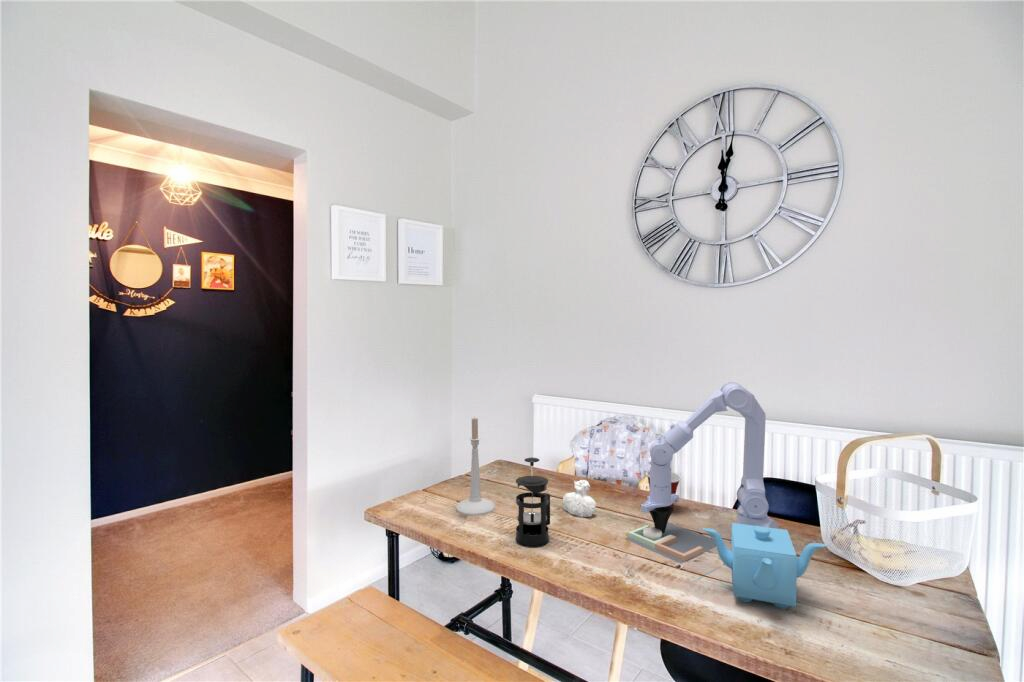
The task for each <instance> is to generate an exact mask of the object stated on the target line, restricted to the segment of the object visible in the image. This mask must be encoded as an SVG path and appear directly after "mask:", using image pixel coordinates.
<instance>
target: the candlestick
mask: <svg viewBox="0 0 1024 682" xmlns="http://www.w3.org/2000/svg"><path fill="white" fill-rule="evenodd" d="M478 421H479V419H478V417H472V418H471V437H470V438H469V440H470V445H471V447H472V449H471V464H470V465H471V467H470V470H471V472H470V492H469V493H470V494H469V498H466V499H463V500H461V501H459V502H458V503H457V504H456V506H455V511H456V512H457V513H459V514H461V515H465V516H472V517H473V516H484V515H488V514H490V513H492V512H494V511H495V509H496V504H495V503H494V502H493V501H492V500H490V499H488V498H485V497H484V498H483V497H482V493H481V476H480V462H479V461H480V460H479V448H478V446H479V444H480V440H481V438H480V437H479V429H478V428H479V422H478Z"/></svg>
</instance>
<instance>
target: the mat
mask: <svg viewBox="0 0 1024 682" xmlns="http://www.w3.org/2000/svg"><path fill="white" fill-rule="evenodd" d="M652 528H655V526H652ZM668 535H673V536H675V537H676V542H675V543H673V544H671V545H668V546H667V547H669V548H671V549H674V550H676V551H678V552H681V553H686V552H688V551H690V550H692V549H694V548H696V547H698V546H701V547H703V553H705V552H708V551H710V550H711V549H714V548H717V547H716V544H715V541H714V539H713V538H712V537H709V536H706V535H703V534H701V533H698V532H695V531H693V530H689V529H687V528H684V527H681V526H679V525H677V524H674V523H671V522H669V521H668V522H667V526H666V529H665V533H663V534H662V538H663V537H665V536H668ZM641 536H643V534H641ZM624 539H625V540H627V541H628V542H631V543H633V544H635V545H637V546H640V547H641V548H645V549H647V550H650V551H652V552H653V553H656V554H657V555H658V554H659V556H660V555H661V556H662V557H664V558H666V559H669V560H672V561H674V562H676V563H679V564H683V563H685V562H684V561H682V560H680V559H677V558H675V557H673V556H670V555H668V554H666V553H663V552H661V551H659V550H657V549H654V548H652V547H650V546H647V545H645V544H643V543H640V542H638V541H636V540H634V539H631V538H629V537H628V536H627V537H625V538H624ZM703 553H701V554H703ZM701 554H699V555H698V556H700V555H701Z"/></svg>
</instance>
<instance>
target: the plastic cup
mask: <svg viewBox="0 0 1024 682" xmlns="http://www.w3.org/2000/svg"><path fill="white" fill-rule="evenodd" d="M645 474H646V477H647V481H648V487H649V489H650V469H648V470H647V471H645ZM681 480H682V476H681V475H679V474H678V473H676V472H673V471H671V494H676V495H677V491H678V486H679V483H680V482H681ZM674 503H675V502H673V503H672V504H671V505H670V507H673V508H674Z"/></svg>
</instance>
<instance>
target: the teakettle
mask: <svg viewBox="0 0 1024 682" xmlns="http://www.w3.org/2000/svg"><path fill="white" fill-rule="evenodd" d="M701 530H703V531H704V532H706V533H707V534H709V536H711V538H712V539H714V541H715V544H716V547H715V548H716V550H717V553H718V557H719V558H720V560H721V561H722V563H723V564H724V565H725V566H726V567H727V568H729V569H731V580H732V591H733V597H737V600H739V601H740V602H745V603H750V602H752V601H760V602H766V603H772V604H773V606H775V607H776V608H779V609H783V610H786V609H789V608H790V607H794V608H797V579H799V578H801V577H802V576H803V575H804V574H805V573H806V572H807V570H808V567H809V565H810V561H811V558H812V556H813V555H814V553H815V552H816V551H817V550H821V548H822V549H823V548H825V547H828V545H827V544H825V543H820V542H811V543H808V544H806V545H805V547H804V548H803V550H802V552H801V554H800V555H799V556H798V557H797V553H796V551H795V548H794V544H793V542H792V540H791V536H790V534H789V531H788V529H782V528H778V529H776V528H768V527H761V526H753V525H745V524H737V522H732V523H731V542H732V544H731V549H728V548H727V546H726V545H725V543H724V540H723V537H722V535H721V534H720V532H718V531H717V530H715V529H713V528H707V527H702V528H701Z"/></svg>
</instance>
